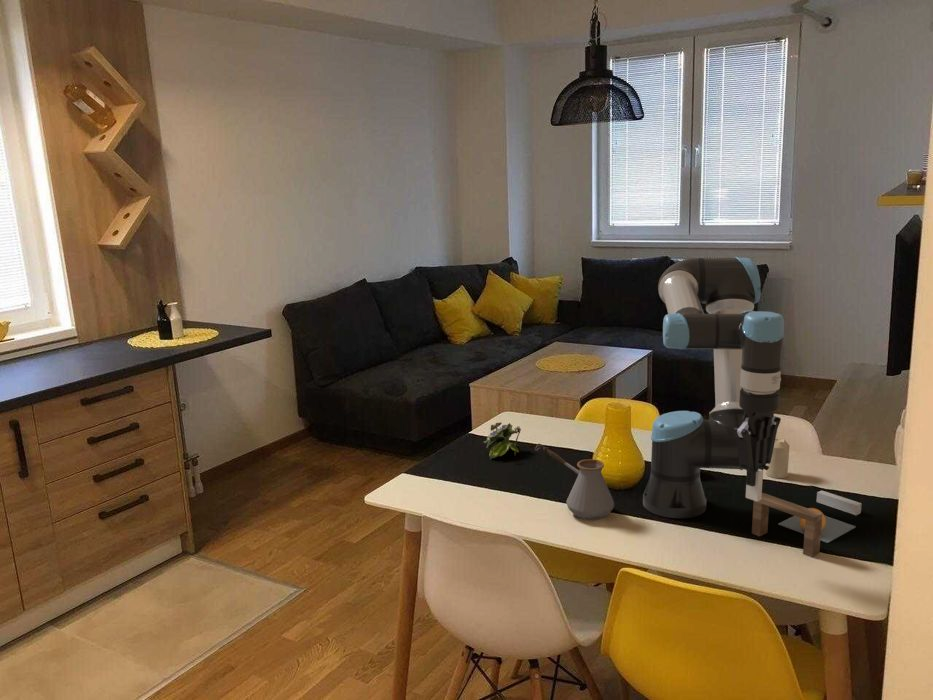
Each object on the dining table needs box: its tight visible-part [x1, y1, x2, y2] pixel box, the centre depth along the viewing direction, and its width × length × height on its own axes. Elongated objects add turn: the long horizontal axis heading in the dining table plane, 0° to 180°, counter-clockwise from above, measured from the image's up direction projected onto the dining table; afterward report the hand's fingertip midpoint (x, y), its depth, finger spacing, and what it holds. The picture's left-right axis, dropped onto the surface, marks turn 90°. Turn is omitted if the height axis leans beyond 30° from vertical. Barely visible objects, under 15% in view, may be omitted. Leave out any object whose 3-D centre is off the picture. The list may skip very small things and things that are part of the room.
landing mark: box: [777, 514, 856, 544], centre depth 182 cm, size 12×12×1 cm
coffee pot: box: [534, 443, 615, 521], centre depth 193 cm, size 21×12×15 cm, turn 51°
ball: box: [799, 507, 826, 530], centre depth 179 cm, size 6×6×6 cm
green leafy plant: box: [483, 421, 522, 460], centre depth 232 cm, size 11×11×12 cm
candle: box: [765, 438, 790, 479], centre depth 210 cm, size 6×6×10 cm
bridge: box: [751, 492, 824, 558], centre depth 173 cm, size 3×14×9 cm, turn 36°
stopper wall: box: [816, 490, 862, 516], centre depth 191 cm, size 10×2×2 cm, turn 37°
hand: (753, 498), depth 164 cm, fingers closed
